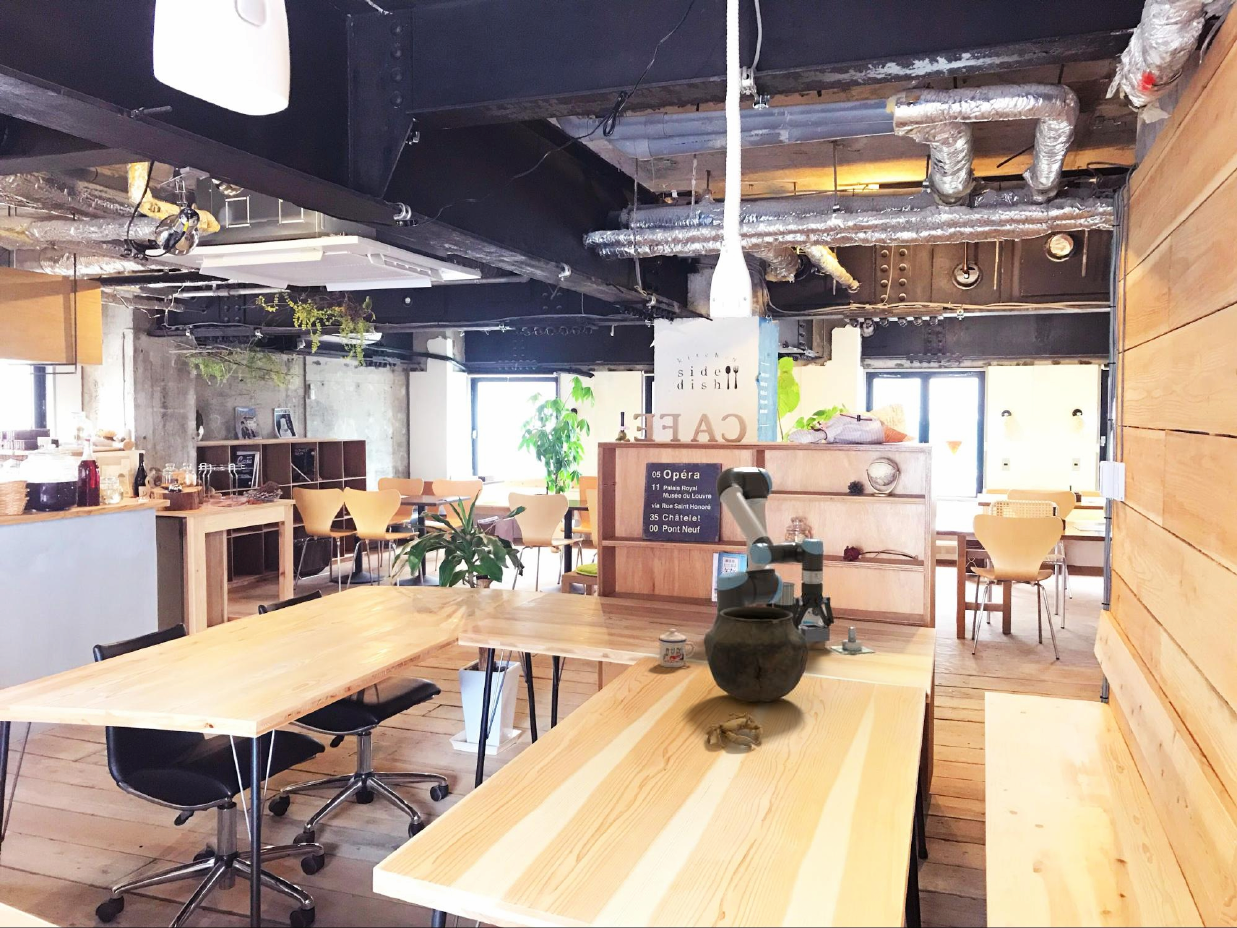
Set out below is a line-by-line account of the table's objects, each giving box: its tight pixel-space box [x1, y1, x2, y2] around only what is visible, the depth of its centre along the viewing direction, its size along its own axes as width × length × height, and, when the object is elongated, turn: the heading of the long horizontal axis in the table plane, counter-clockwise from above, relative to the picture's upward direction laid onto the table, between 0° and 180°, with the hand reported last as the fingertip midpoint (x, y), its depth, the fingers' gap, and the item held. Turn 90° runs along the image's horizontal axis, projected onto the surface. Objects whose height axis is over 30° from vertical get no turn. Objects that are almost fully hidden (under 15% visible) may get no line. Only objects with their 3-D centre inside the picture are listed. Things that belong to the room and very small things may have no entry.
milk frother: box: [765, 581, 796, 613], centre depth 379 cm, size 14×16×15 cm
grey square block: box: [799, 623, 831, 642], centre depth 324 cm, size 10×10×4 cm
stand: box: [807, 641, 826, 651], centre depth 324 cm, size 7×7×6 cm
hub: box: [828, 626, 876, 655], centre depth 320 cm, size 12×11×8 cm
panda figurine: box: [796, 596, 827, 625], centre depth 342 cm, size 12×11×15 cm
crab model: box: [705, 712, 764, 749], centre depth 219 cm, size 16×13×6 cm
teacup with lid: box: [658, 628, 696, 669], centre depth 296 cm, size 12×9×12 cm
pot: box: [703, 605, 809, 703], centre depth 255 cm, size 29×32×25 cm
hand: (811, 643), depth 324 cm, fingers closed on grey square block, 9 cm apart
